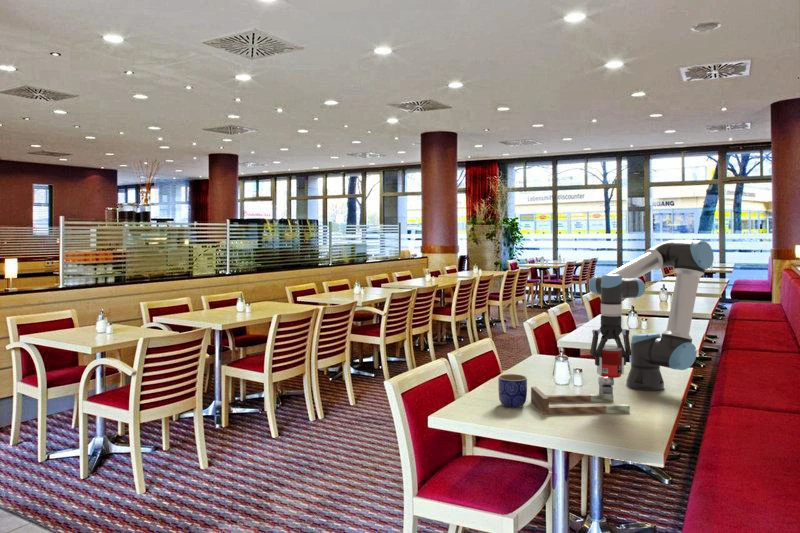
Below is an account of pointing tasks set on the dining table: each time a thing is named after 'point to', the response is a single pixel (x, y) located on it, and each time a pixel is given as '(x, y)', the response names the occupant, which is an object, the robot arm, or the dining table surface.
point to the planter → (512, 390)
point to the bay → (543, 401)
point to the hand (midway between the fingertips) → (610, 373)
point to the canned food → (611, 361)
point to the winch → (605, 385)
